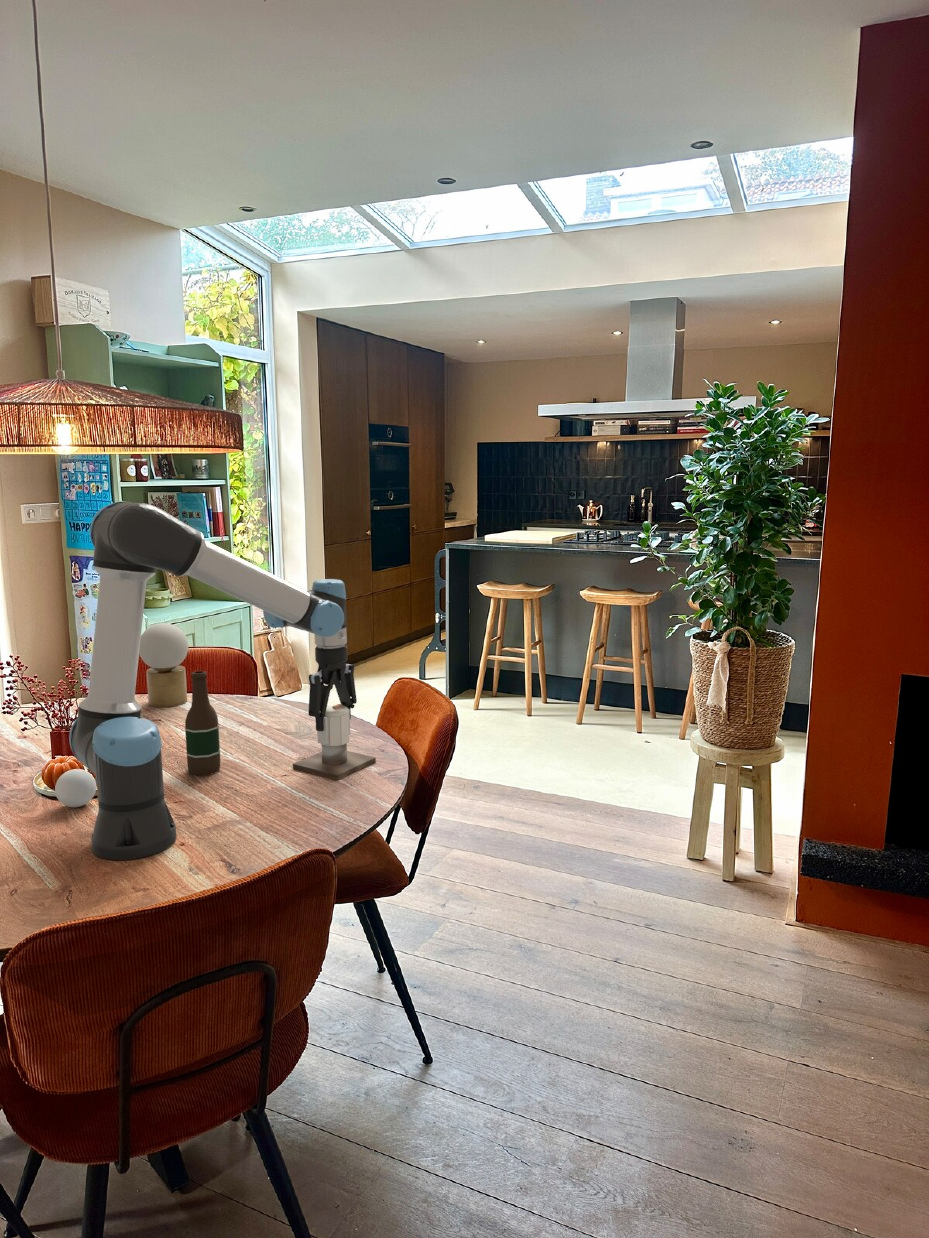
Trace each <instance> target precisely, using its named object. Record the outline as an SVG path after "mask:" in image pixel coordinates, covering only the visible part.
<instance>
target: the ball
mask: <svg viewBox="0 0 929 1238" xmlns="http://www.w3.org/2000/svg"><path fill="white" fill-rule="evenodd" d="M96 792H97V781H96V778H94V775H93V774H91V773H90V772H89V771H87V770H84V769H80V768H75V769H70V770H68V771H65V772H63V774H61V775H60V776H59V778H58V779H57V780H56V783H55V787H54V793H55V797H56V798H57V800H58V801H59V803H61V805H63V806H66V807H68V808H81V807H82V806H85V805H87V804H88V803H89V802H91V801H92V799H93V798H94V796H95V794H96Z"/></svg>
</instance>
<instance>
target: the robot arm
mask: <svg viewBox="0 0 929 1238" xmlns="http://www.w3.org/2000/svg"><path fill="white" fill-rule="evenodd" d="M89 537H90V540H91V544H92V545H93V549H94V551H93V561H92V562H93V563H92V568H93V569H94V570H95V572H96V573H97V574H98V576H99V585H98V596H97V606H96V613H95V614H96V616H95V624H94V626H95V627H94V635H93V644H92V654H91V666H90V676H89V684H88V694H87V696H86V697H85V698H84V699H82V701H80V702H79V704H78V709H77V710H78V711H77V712H78V713H77V718H75V720H74V722H73V723H72V725H71V726H70V729H69V730H70V731H69V735H68V737H69V739H68V740H69V741H68V742H69V746H70V749H71V752H72V754H73V755H74V757H75V758H76V760H77V761H78V762H79V763H80V764H81V765H82V766H84V767H85V768H86V769H88V771H90V772H91V773H92V775H93V776H95V781H96V792H97V801H98V813H97V816H96V819H95V823H94V826H93V827H94V828H93V833H92V834H91V839H90V840H91V841H90V842H91V851H92V853H93V854H94V855H95V856H96V857H98V858H101V859H104V860H112V861H127V860H128V861H129V860H135V859H141V858H145V857H149V856H152V855H153V856H154V855H155V854H157V853H161V852H162V851H164V850H166V849H168V848H169V847H171V846H172V845H173V844H174V843H175V842H176V840H177V837H178V835H177V826H176V822H175V821H174V818H173V816H172V814H171V812H170V809H169V807H168V805H167V803H166V800H165V791H164V790H165V789H164V776H163V775H164V774H163V759H162V745H163V744H162V743H163V742H162V738H161V734H160V730H159V728H158V726H157V724H156V723H154V722H153V721H152V720H150V719H146V718H144V717H142V718H141V716H142V705H141V704H140V703H139V702H138V701H137V700H136V699H135V696H136V688H137V687H136V685H137V678H138V677H137V676H138V666H139V657H140V654H139V650H140V640H141V635H142V628H143V619H144V609H145V602H146V601H145V600H146V593H147V582H148V581H149V580H150V579H151V578H153V577H154V576H155V575H156V572H157V570H161V571H164V572H166V573H168V574H171V575H174V576H175V577H177V578H178V577H179V578H182V577H184V576H188V577H190V578H192V579H195V580H197V581H199V582H201V583H203V584H206V585H207V586H209V587H212V588H214V589H217V590H218V591H221V592H223V593H225V594H227V595H229V596H232V597H234V598H235V599H238V600H240V601H243V602H245V603H247V604H249V605H250V606H253V607H254V608H255V607H256V608H257V609H260V610H262V611H263V613H262V614H263V618H264V620H265V622H266V624H267V626H268V627H270V628H272V629H278V628H280V629H283V628H288V627H290V628H294V629H297V630H301V631H304V632H306V633H307V632H308V633H311V634H314V645H315V647H314V657H315V662H316V663H317V664H318V667H317V671H316V673H314V674H311V673H310V674H309V675H308V682H309V695H308V696H309V698H308V716H309V717H314V718H315V729H316V731H317V732H316V733H317V736H316V737H317V743H318V744H320V743H321V744H326V745H327V744H328V717H325V713H326V708H327V706H328V703H329V700H330V699H329V697H330V693H331V691H332V690H333V688H334V687H335V688H334V689H336V693H337V696H338V699H339V704H342V706H345V707H347V708H348V716H349V736H351V718H352V715H351V713H352V711H351V710H352V709H354V708H355V704H357V701H358V700H357V693H356V684H355V682H356V681H355V676H354V672H355V665H354V664H349V663H346V662H347V661H348V645H347V643H348V641H347V640H348V638H347V637H348V636H347V594H346V585H345V582H344V581H343V580H341V579H337V578H325V579H324V578H323V579H317V580H315V581H313V582H312V587H311V589H309V590H305V589H303V588H301V587H299V586H297V585H296V584H293V583H291V582H289V581H287V580H286V579H283V578H282V577H279V576H278V575H275V574H273V573H271V572H269V571H267V570H266V569H264V568H261V567H260V566H257V565H256V564H253V563H252V562H249V561H247V560H245V559H244V558H242V557H240V556H237V555H236V554H233V553H231V552H229V551H228V550H225V549H223V548H222V547H219V546H217V545H216V544H214V543H212V542H210V541H208V540H205V537H204V534H203V533H202V532H201V531H200V530H198V529H195V528H194V527H192V526H190V525H188V524H187V523H185V522H183V521H182V520H180V519H179V518H176V517H175V516H173V515H171V513H168V512H167V511H165V510H163V509H162V508H160V507H158V506H155V505H153V504H150V503H142V502H133V501H124V500H120V501H115V502H112V503H109V504H107V505H105V506H103V507H102V508H100V509H99V510H98V511H97V512H96V513H95V514H94V516H93V517H92V520H91V522H90V527H89ZM320 711H321V713H320ZM321 744H320V745H321Z"/></svg>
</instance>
